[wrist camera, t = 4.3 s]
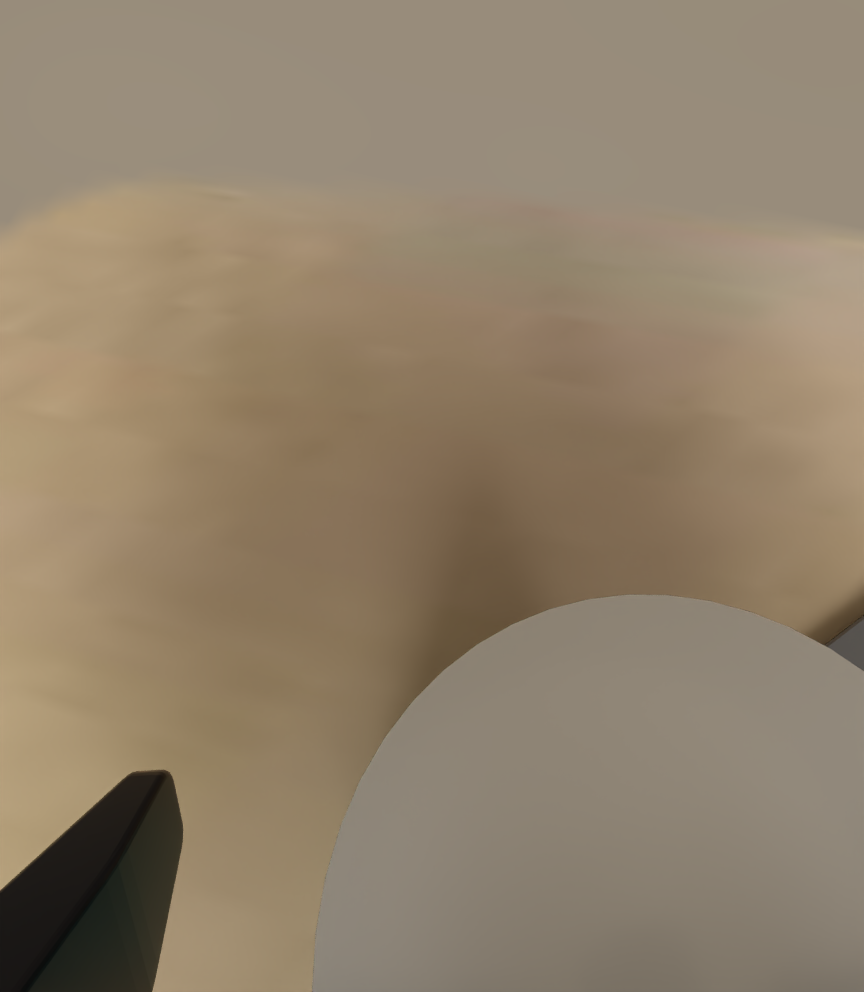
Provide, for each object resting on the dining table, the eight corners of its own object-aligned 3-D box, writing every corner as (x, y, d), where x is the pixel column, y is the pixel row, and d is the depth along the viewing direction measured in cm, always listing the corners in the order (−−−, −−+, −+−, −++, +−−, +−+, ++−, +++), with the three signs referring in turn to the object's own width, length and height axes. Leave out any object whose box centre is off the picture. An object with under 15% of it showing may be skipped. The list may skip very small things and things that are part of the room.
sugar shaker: (474, 1072, 12) (650, 1847, 3) (332, 814, 14) (180, 843, 5) (685, 893, 14) (1254, 1093, 4) (532, 674, 15) (714, 485, 6)
